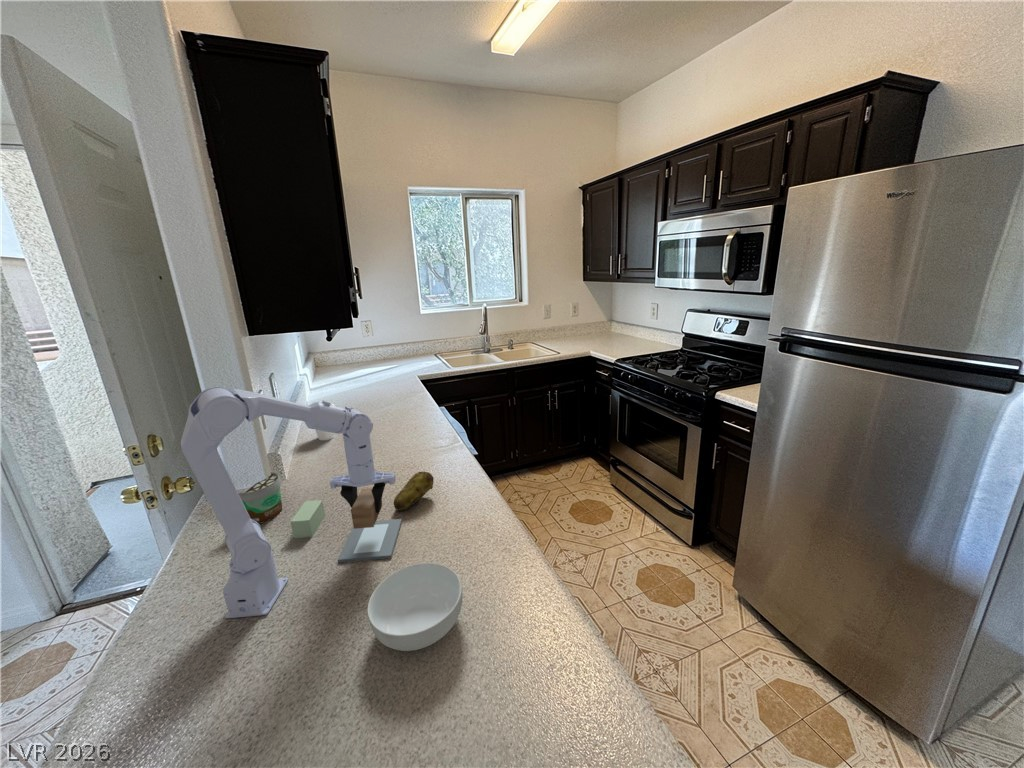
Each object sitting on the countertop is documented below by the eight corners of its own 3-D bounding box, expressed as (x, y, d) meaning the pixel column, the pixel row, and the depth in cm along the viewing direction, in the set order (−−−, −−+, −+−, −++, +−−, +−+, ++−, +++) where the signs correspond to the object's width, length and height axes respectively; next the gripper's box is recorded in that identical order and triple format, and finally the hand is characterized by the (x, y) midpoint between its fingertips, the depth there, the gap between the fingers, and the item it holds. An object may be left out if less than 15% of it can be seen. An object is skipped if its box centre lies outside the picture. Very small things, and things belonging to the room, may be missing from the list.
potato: (387, 503, 114) (384, 478, 111) (429, 488, 121) (427, 465, 119) (398, 517, 107) (394, 491, 105) (441, 500, 114) (439, 475, 112)
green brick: (312, 537, 100) (309, 520, 99) (294, 538, 100) (290, 521, 99) (325, 516, 109) (322, 500, 108) (308, 517, 109) (305, 501, 107)
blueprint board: (391, 558, 92) (390, 555, 92) (338, 562, 91) (337, 559, 91) (402, 521, 105) (401, 518, 105) (355, 525, 104) (355, 522, 104)
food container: (263, 529, 104) (255, 496, 101) (244, 527, 105) (235, 494, 102) (297, 503, 115) (290, 472, 113) (279, 501, 117) (272, 470, 114)
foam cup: (314, 435, 164) (309, 405, 160) (338, 431, 168) (334, 401, 164) (314, 443, 156) (308, 412, 152) (339, 439, 159) (334, 408, 156)
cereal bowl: (426, 577, 86) (423, 550, 84) (482, 617, 75) (480, 587, 74) (354, 632, 73) (348, 601, 71) (409, 688, 63) (404, 654, 61)
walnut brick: (373, 527, 92) (370, 508, 91) (353, 528, 92) (350, 509, 90) (382, 505, 101) (380, 487, 99) (364, 506, 100) (361, 489, 99)
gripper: (395, 450, 96) (401, 499, 100) (333, 454, 95) (342, 504, 99) (389, 464, 90) (396, 516, 93) (323, 468, 89) (332, 521, 92)
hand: (367, 511), depth 96 cm, fingers closed on walnut brick, 4 cm apart
